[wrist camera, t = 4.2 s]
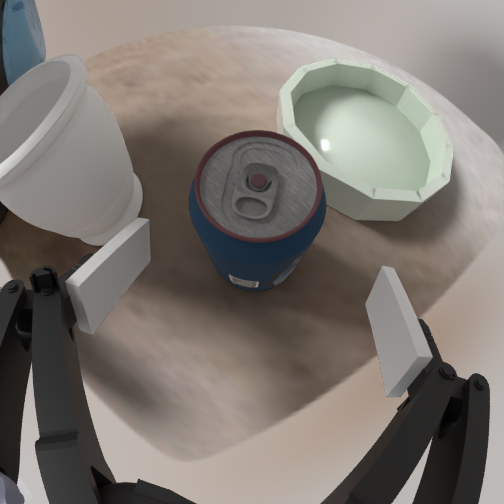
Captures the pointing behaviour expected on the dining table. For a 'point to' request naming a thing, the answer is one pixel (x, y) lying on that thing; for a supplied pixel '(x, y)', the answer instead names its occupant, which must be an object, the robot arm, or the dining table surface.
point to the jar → (65, 155)
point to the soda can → (257, 207)
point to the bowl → (366, 138)
